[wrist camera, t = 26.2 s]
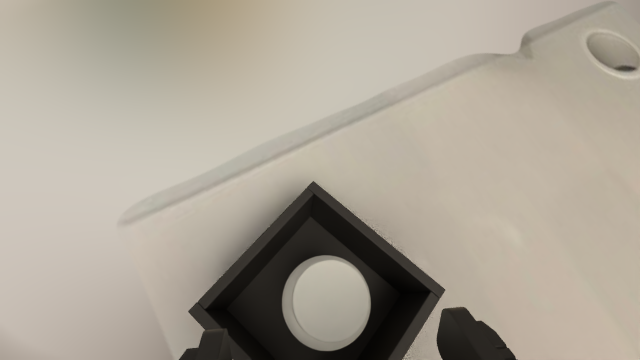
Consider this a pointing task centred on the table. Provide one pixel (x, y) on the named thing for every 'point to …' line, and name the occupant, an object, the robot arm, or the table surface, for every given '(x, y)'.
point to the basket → (293, 249)
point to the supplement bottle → (326, 303)
